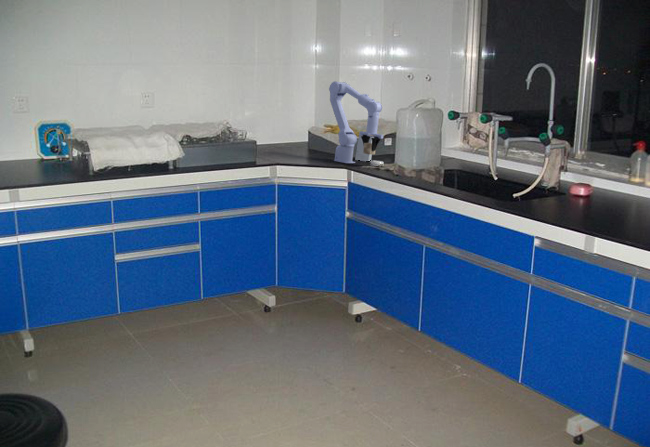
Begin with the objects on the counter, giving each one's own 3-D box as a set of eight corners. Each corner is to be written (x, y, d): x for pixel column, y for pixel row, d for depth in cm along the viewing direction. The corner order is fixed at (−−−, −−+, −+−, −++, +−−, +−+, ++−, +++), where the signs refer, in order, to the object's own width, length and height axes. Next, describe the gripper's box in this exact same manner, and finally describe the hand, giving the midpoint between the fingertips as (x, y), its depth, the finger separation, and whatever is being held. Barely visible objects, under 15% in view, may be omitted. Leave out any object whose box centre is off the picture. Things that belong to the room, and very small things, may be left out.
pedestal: (367, 165, 372) (368, 160, 371) (375, 164, 377) (375, 160, 377) (378, 167, 368) (378, 162, 367) (385, 166, 373) (386, 162, 372)
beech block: (363, 153, 363) (364, 142, 362) (368, 153, 367) (369, 142, 366) (369, 154, 361) (371, 144, 360) (374, 154, 364) (376, 143, 363)
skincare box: (354, 160, 388) (357, 134, 384) (358, 159, 393) (361, 133, 390) (369, 162, 385) (372, 135, 382) (372, 161, 391) (375, 135, 387)
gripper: (357, 123, 362) (354, 148, 365) (379, 126, 353) (375, 152, 356) (365, 123, 367) (362, 148, 370) (386, 126, 358) (383, 152, 361)
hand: (369, 150), depth 363 cm, fingers closed on beech block, 4 cm apart
